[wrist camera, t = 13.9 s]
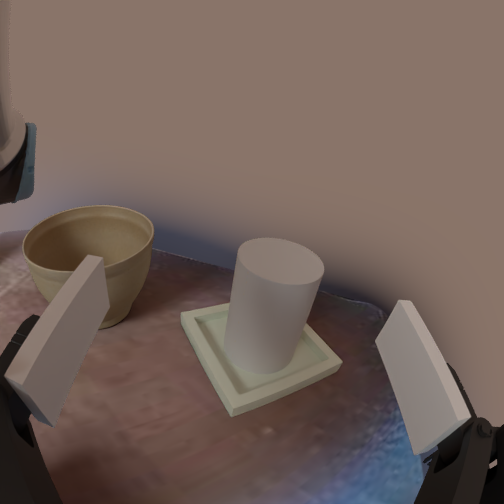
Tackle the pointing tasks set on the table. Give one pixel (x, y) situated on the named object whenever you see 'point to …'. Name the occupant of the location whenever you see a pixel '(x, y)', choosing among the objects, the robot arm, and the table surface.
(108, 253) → the planter bowl
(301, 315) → the white cylinder
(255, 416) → the table surface
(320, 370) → the tray
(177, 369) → the table surface
